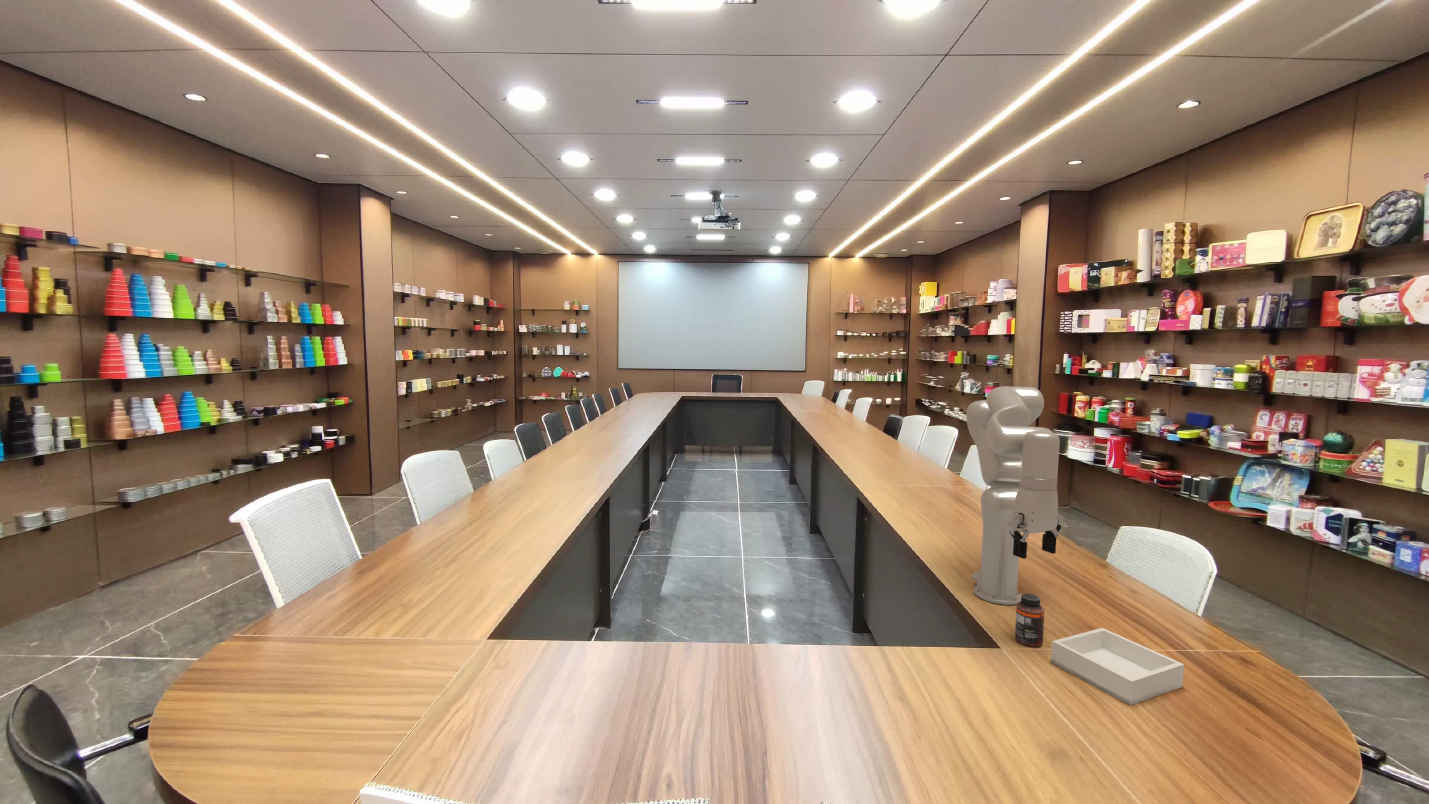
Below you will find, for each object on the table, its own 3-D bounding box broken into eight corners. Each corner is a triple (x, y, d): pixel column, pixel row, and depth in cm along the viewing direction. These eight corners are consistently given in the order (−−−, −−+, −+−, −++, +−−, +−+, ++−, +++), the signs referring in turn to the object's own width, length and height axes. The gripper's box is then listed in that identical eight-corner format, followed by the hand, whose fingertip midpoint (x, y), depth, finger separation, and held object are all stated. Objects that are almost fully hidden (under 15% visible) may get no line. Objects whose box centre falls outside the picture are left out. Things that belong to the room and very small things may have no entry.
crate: (1050, 662, 129) (1052, 640, 128) (1100, 648, 135) (1102, 627, 135) (1130, 705, 113) (1132, 681, 113) (1182, 687, 120) (1184, 664, 119)
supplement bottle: (1035, 636, 141) (1038, 592, 140) (1047, 648, 135) (1050, 602, 134) (1010, 634, 141) (1013, 590, 140) (1020, 647, 135) (1023, 601, 134)
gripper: (1049, 477, 141) (1045, 545, 143) (998, 482, 135) (994, 553, 136) (1078, 484, 134) (1074, 555, 136) (1026, 490, 128) (1022, 564, 129)
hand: (1034, 554), depth 136 cm, fingers open, 9 cm apart
